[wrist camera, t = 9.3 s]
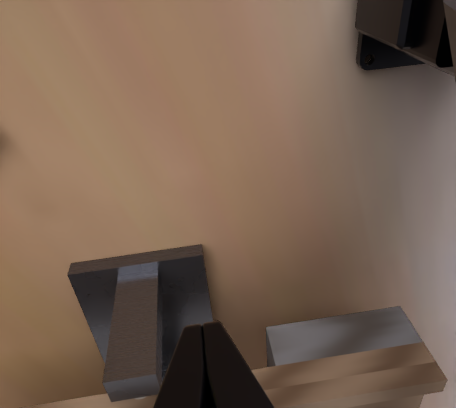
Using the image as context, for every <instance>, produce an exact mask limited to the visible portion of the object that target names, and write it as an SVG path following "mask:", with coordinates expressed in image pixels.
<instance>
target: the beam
mask: <svg viewBox="0 0 456 408" xmlns="http://www.w3.org/2000/svg"><path fill="white" fill-rule="evenodd" d="M266 343H267V367H266V368H260V369H254V370H251V371H252V372H253V374H254V376H255V377H256V379H257V380H258V382H259V384H260V385H261V387H262V388H263V390H264V392H265V393H266V395H267V396H268V398H269V399H270V401H271V403H272V404H273V406H274V407H275V408H419V407H420V404H421V401H422V398H423V396H424V394H430V393H436V392H441V391H443V389H444V387H445V385H446V382H447V378H446V377H445V375H444V374H443V372H442V371H441V369H440V367H439V366H438V364H437V363H436V361H435V360H434V358H433V356H432V355H431V353H430V352H429V350H428V349H427V347H426V346H425V344H424V342H423V341H422V339H421V338H420V336H419V335H418V333H417V332H416V330H415V328H414V327H413V325H412V324H411V322H410V321H409V319H408V318H407V316H406V314H405V313H404V311H403V310H402V308H401V307H400V306H397V307H391V308H385V309H378V310H372V311H365V312H359V313H353V314H346V315H340V316H334V317H327V318H321V319H314V320H308V321H302V322H295V323H289V324H282V325H276V326H270V327H266ZM157 395H158V394H157ZM157 395H151V396H145V397H139V398H134V399H128V400H122V401H116V402H111V401H110V399H109V396H108V394H107V393H106V394H100V395H94V396H88V397H82V398H76V399H69V400H63V401H57V402H51V403H45V404H39V405H33V406H27V407H20V408H153V406H154V403H155V400H156V398H157Z"/></svg>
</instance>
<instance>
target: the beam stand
mask: <svg viewBox="0 0 456 408" xmlns="http://www.w3.org/2000/svg"><path fill="white" fill-rule="evenodd" d="M68 277H69V280H70V282H71V284H72V287H73V289H74V291H75V294H76V296H77V299H78V301H79V303H80V306H81V308H82V310H83V313H84V315H85V317H86V320H87V322H88V325H89V327H90V329H91V332H92V334H93V336H94V339H95V341H96V343H97V346H98V348H99V351H100V353H101V355H102V358H103V360H104V362H105V369H104V376H103V385H104V387H105V390H106V392H107V394H108V396H109V399H110V401H111V402H116V401H122V400H128V399H134V398H139V397H145V396H151V395H157V394H158V393H159V390H160V387H161V385H162V382H163V380H164V377H165V374H166V372H167V369H168V366H169V364H170V361H171V359H172V356H173V353H174V351H175V348H176V346H177V343H178V340H179V338H180V335H181V333H182V330H183V328H184V327H185V326H187V325H193V324H201V325H202V326H203V324H204V323H205V322H212V321H213V317H212V310H211V304H210V297H209V291H208V284H207V277H206V271H205V264H204V257H203V251H202V244H201V245H194V246H187V247H180V248H174V249H167V250H160V251H153V252H146V253H139V254H133V255H126V256H119V257H112V258H105V259H98V260H92V261H85V262H78V263H71V265H70V268H69V272H68Z"/></svg>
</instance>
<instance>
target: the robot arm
mask: <svg viewBox="0 0 456 408" xmlns="http://www.w3.org/2000/svg"><path fill="white" fill-rule="evenodd" d="M355 27H356V29H357V30H358V31H359V37H358V47H357V56H356V62H357V64H358V66H359V67H361V68H362V69H364V70H375V69H383V68H392V67H400V66H408V65H417V64H425V63H426V64H429V65H431V66H433V67H435V68H437V69H440V70H442V71H444V72H446V73H448V74H451V75H453V76H455V80H456V0H358V3H357V13H356V24H355ZM369 54H371V59H370V61H369V62H367V63H365V57H366V56H367V55H369ZM153 408H275V407H274V406H273V404H272V403H271V401H270V399H269V398H268V396H267V395H266V393H265V392H264V390H263V388H262V387H261V385H260V384H259V382H258V380H257V379H256V377H255V376H254V374H253V372H252V371H251V369H250V368H249V366H248V365H247V363H246V361H245V360H244V358H243V357H242V355H241V353H240V352H239V350H238V349H237V347H236V345H235V344H234V342H233V341H232V339H231V338H230V336H229V334H228V333H227V331H226V330H225V328H224V326H223V325H222V323H221V322H220V321H212V322H205V323H204V324H203V326H202V325H201V324H193V325H187V326H185V327H184V328H183V330H182V333H181V335H180V338H179V340H178V343H177V346H176V348H175V351H174V353H173V356H172V359H171V361H170V364H169V366H168V369H167V372H166V374H165V377H164V380H163V382H162V385H161V387H160V390H159V393H158V395H157V398H156V400H155V403H154V406H153Z"/></svg>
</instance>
